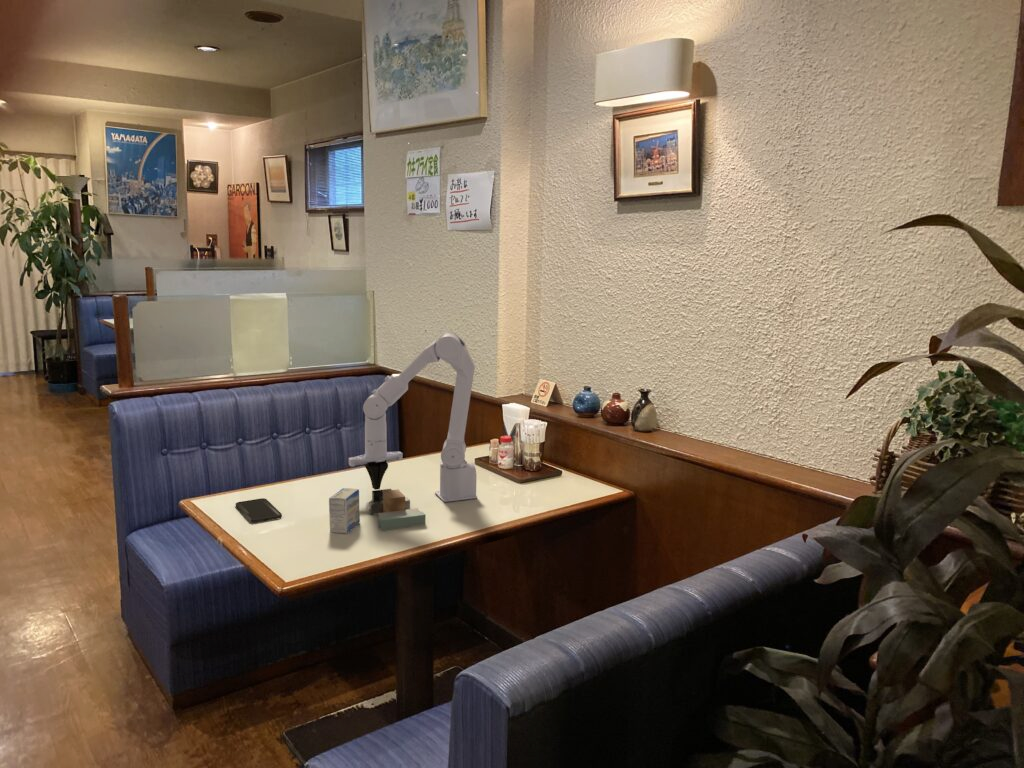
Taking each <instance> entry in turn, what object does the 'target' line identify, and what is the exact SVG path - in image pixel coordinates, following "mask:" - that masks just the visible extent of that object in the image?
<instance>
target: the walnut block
mask: <svg viewBox="0 0 1024 768" xmlns="http://www.w3.org/2000/svg"><path fill="white" fill-rule="evenodd" d="M405 498H406V496H405V495H404V494H403V493H402V492H401V491H400V489H398V488H397V489H392V490H388V491H383V513H384V512H392V511H400V510H405Z"/></svg>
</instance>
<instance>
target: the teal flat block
mask: <svg viewBox="0 0 1024 768" xmlns="http://www.w3.org/2000/svg"><path fill="white" fill-rule="evenodd" d="M377 524H378V529H380V531H387V530H394V529H400V528H401V529H402V528H409V527H418V526H423V525H426V513H425V512H423V511H420V509H418V508H416V507H415V508H410V509H408V510H400V511H392V512H384V513H378V514H377Z"/></svg>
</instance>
